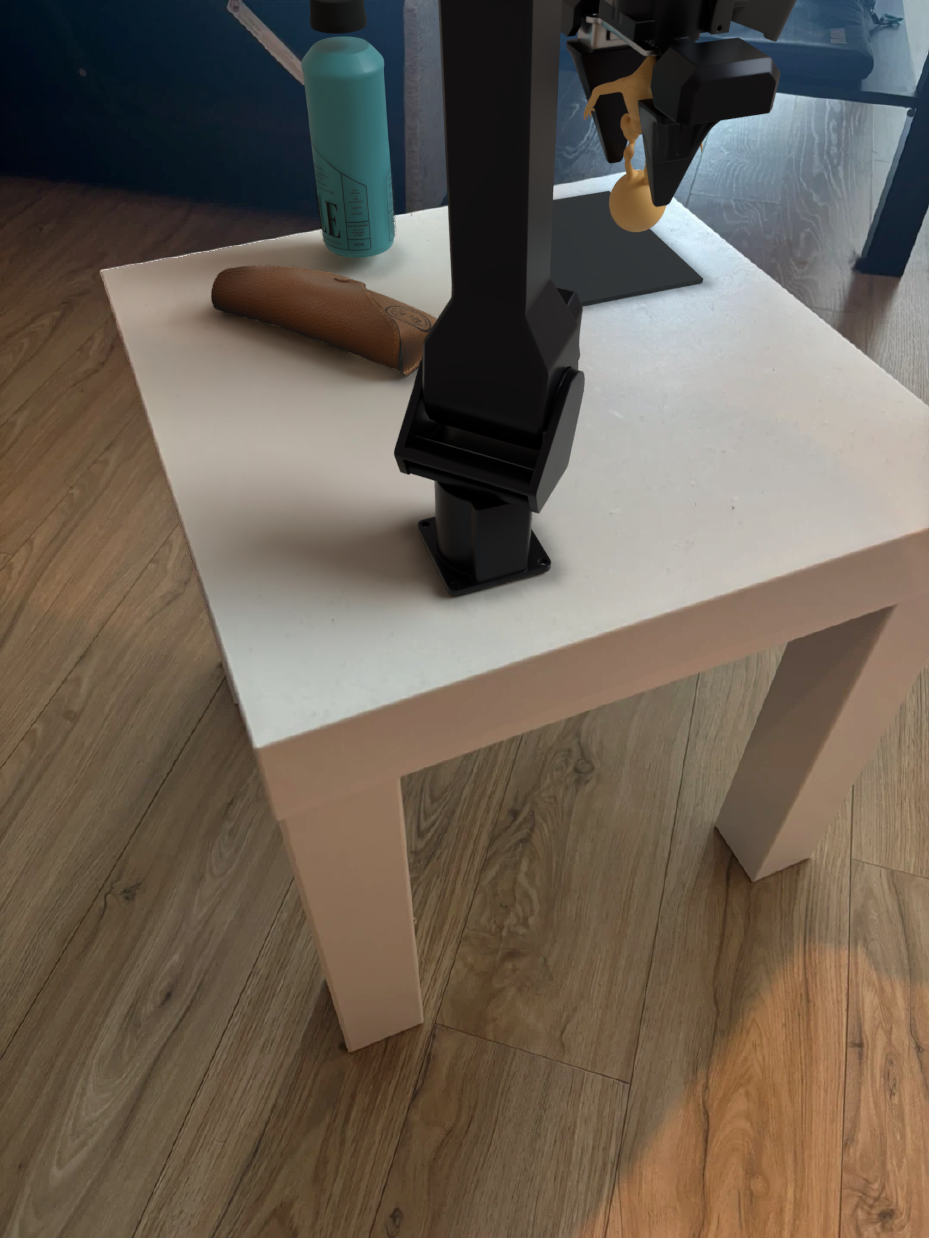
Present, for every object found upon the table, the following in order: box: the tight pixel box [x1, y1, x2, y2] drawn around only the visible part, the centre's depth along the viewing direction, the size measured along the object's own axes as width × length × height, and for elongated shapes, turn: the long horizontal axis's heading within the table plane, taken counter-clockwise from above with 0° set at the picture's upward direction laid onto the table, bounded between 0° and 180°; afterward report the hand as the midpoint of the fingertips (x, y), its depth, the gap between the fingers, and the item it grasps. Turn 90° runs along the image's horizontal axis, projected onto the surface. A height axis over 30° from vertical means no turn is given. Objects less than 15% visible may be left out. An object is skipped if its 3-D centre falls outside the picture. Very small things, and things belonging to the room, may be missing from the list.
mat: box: [550, 190, 704, 307], centre depth 83 cm, size 18×14×1 cm
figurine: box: [583, 56, 704, 232], centre depth 62 cm, size 8×6×12 cm
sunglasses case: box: [210, 264, 438, 377], centre depth 73 cm, size 18×7×7 cm, turn 60°
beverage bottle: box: [300, 0, 398, 259], centre depth 74 cm, size 6×7×20 cm
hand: (636, 183), depth 64 cm, fingers closed on figurine, 7 cm apart
